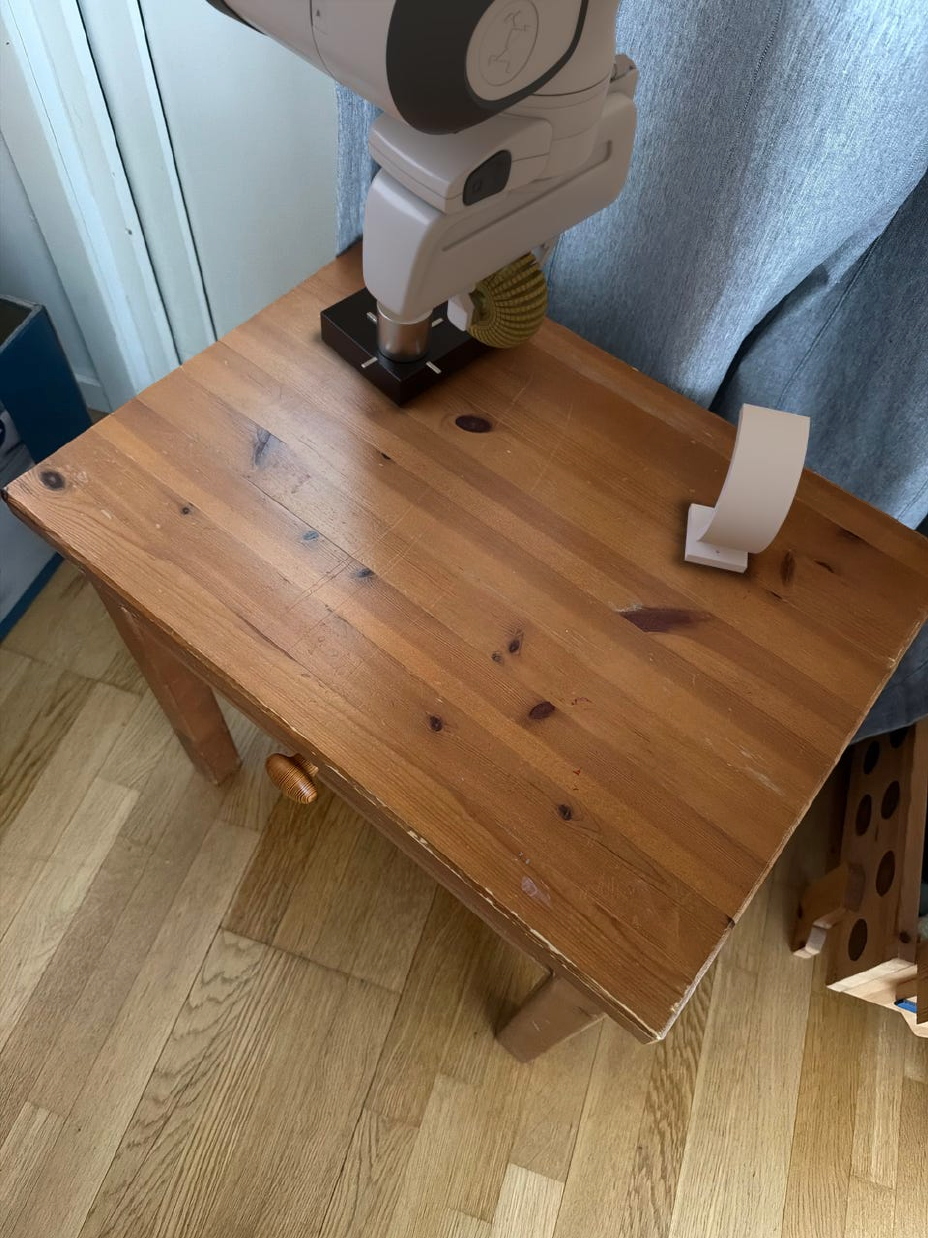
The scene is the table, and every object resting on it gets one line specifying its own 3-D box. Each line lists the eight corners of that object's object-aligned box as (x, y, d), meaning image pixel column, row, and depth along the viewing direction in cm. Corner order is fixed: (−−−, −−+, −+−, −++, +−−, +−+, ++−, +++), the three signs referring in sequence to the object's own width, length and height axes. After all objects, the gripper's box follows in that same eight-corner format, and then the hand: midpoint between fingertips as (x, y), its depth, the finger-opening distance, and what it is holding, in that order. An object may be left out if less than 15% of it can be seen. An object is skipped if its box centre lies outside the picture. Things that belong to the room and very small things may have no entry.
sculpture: (428, 317, 64) (435, 217, 57) (467, 292, 65) (479, 192, 58) (509, 380, 61) (527, 284, 54) (548, 353, 63) (570, 256, 56)
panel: (398, 424, 73) (399, 397, 70) (309, 346, 76) (307, 316, 73) (512, 351, 78) (517, 322, 75) (424, 280, 81) (426, 251, 79)
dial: (441, 346, 73) (445, 304, 69) (401, 370, 71) (402, 328, 68) (405, 316, 75) (407, 273, 71) (365, 339, 73) (365, 296, 69)
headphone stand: (745, 521, 71) (810, 417, 61) (742, 584, 68) (810, 485, 58) (688, 509, 71) (743, 402, 61) (682, 571, 68) (740, 470, 58)
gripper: (603, 19, 54) (561, 220, 66) (343, 138, 46) (348, 343, 58) (683, 68, 52) (624, 266, 64) (426, 201, 44) (413, 400, 56)
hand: (491, 304), depth 61 cm, fingers closed on sculpture, 4 cm apart
